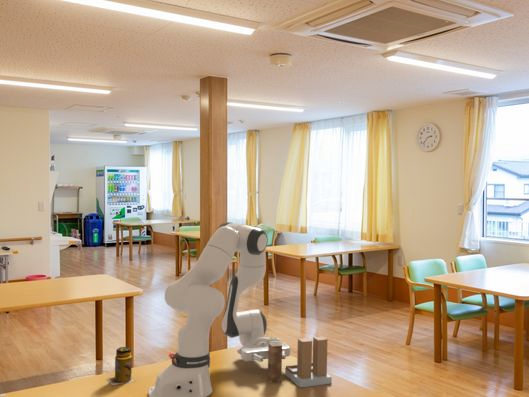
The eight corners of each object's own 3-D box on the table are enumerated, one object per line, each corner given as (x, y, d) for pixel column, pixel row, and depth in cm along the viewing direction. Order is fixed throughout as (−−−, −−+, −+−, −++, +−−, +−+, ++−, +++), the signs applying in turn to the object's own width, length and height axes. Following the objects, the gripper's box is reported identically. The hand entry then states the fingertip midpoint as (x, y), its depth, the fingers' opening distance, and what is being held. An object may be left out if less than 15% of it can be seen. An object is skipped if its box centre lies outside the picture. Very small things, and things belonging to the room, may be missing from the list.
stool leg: (271, 383, 190) (272, 346, 190) (267, 379, 194) (268, 343, 194) (281, 381, 192) (282, 345, 191) (277, 378, 195) (277, 342, 195)
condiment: (134, 381, 189) (135, 349, 189) (112, 386, 185) (112, 353, 184) (128, 375, 195) (129, 344, 195) (106, 379, 191) (107, 348, 190)
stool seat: (300, 387, 186) (301, 343, 186) (285, 374, 199) (286, 333, 199) (331, 383, 191) (332, 340, 191) (314, 370, 204) (315, 330, 204)
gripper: (235, 342, 203) (247, 353, 190) (282, 337, 211) (296, 347, 198) (235, 357, 203) (247, 369, 190) (281, 352, 211) (296, 363, 198)
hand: (272, 358), depth 194 cm, fingers open, 8 cm apart
